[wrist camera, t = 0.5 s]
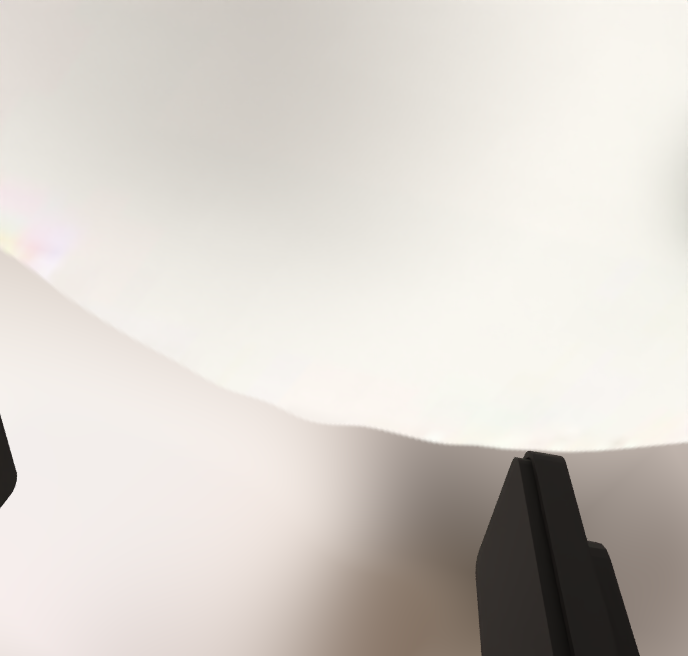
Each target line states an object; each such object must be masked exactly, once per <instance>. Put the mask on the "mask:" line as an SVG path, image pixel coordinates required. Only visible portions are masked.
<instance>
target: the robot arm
mask: <svg viewBox="0 0 688 656" xmlns="http://www.w3.org/2000/svg"><path fill="white" fill-rule="evenodd" d="M16 481H17V472H16V469H15V465H14V462H13V458H12V454H11V451H10V447H9V444H8V440H7V437H6V433H5V430H4V426H3V423H2V419H1V416H0V507H1V506H2V505H3V504H4V503H5V501H6V500H7V499H8V497H9V496H10V495H11V493H12V492H13V490H14V488H15V485H16ZM476 586H477V598H478V599H477V600H478V611H479V627H480V640H481V653H482V656H640V655H639V652H638V649H637V645H636V642H635V639H634V635H633V632H632V629H631V626H630V623H629V619H628V616H627V612H626V609H625V606H624V603H623V599H622V596H621V593H620V590H619V586H618V583H617V579H616V576H615V573H614V569H613V566H612V563H611V560H610V557H609V555H608V552H607V550H606V549H605V547H604V546H603V545H602V544H600V543H597V542H592V541H587V538H586V535H585V531H584V527H583V524H582V520H581V516H580V513H579V509H578V505H577V502H576V498H575V494H574V490H573V487H572V484H571V479H570V476H569V472H568V469H567V465H566V462H565V460H564V458H563V457H562V456H557V455H552V454H546V453H540V452H533V451H527V452H526V454H525V456H524V458H516V457H515V458H514V459H513V461H512V463H511V466H510V468H509V471H508V474H507V477H506V479H505V482H504V485H503V487H502V490H501V493H500V496H499V498H498V501H497V504H496V506H495V509H494V512H493V515H492V517H491V520H490V523H489V525H488V528H487V531H486V534H485V536H484V539H483V542H482V544H481V547H480V550H479V553H478V556H477V561H476Z"/></svg>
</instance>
